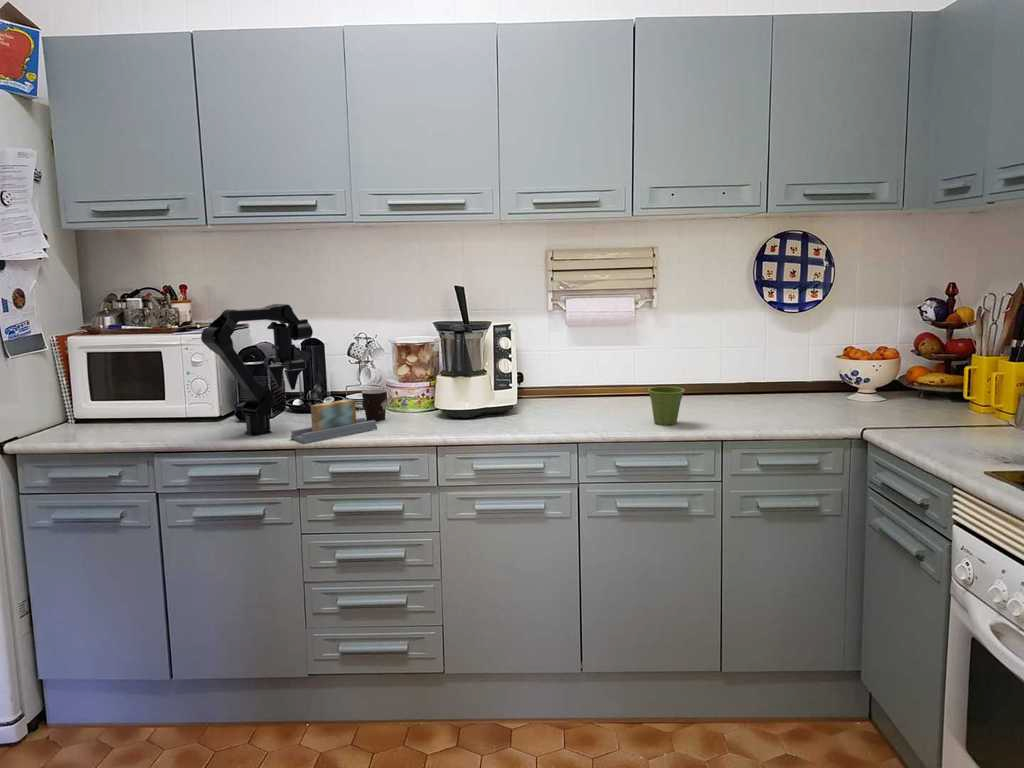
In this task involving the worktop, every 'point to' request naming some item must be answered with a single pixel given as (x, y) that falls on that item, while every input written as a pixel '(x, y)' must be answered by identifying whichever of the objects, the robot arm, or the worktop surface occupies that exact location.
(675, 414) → the plant pot
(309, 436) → the rail
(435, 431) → the worktop surface
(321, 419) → the tan rectangular block
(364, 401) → the coffee mug
